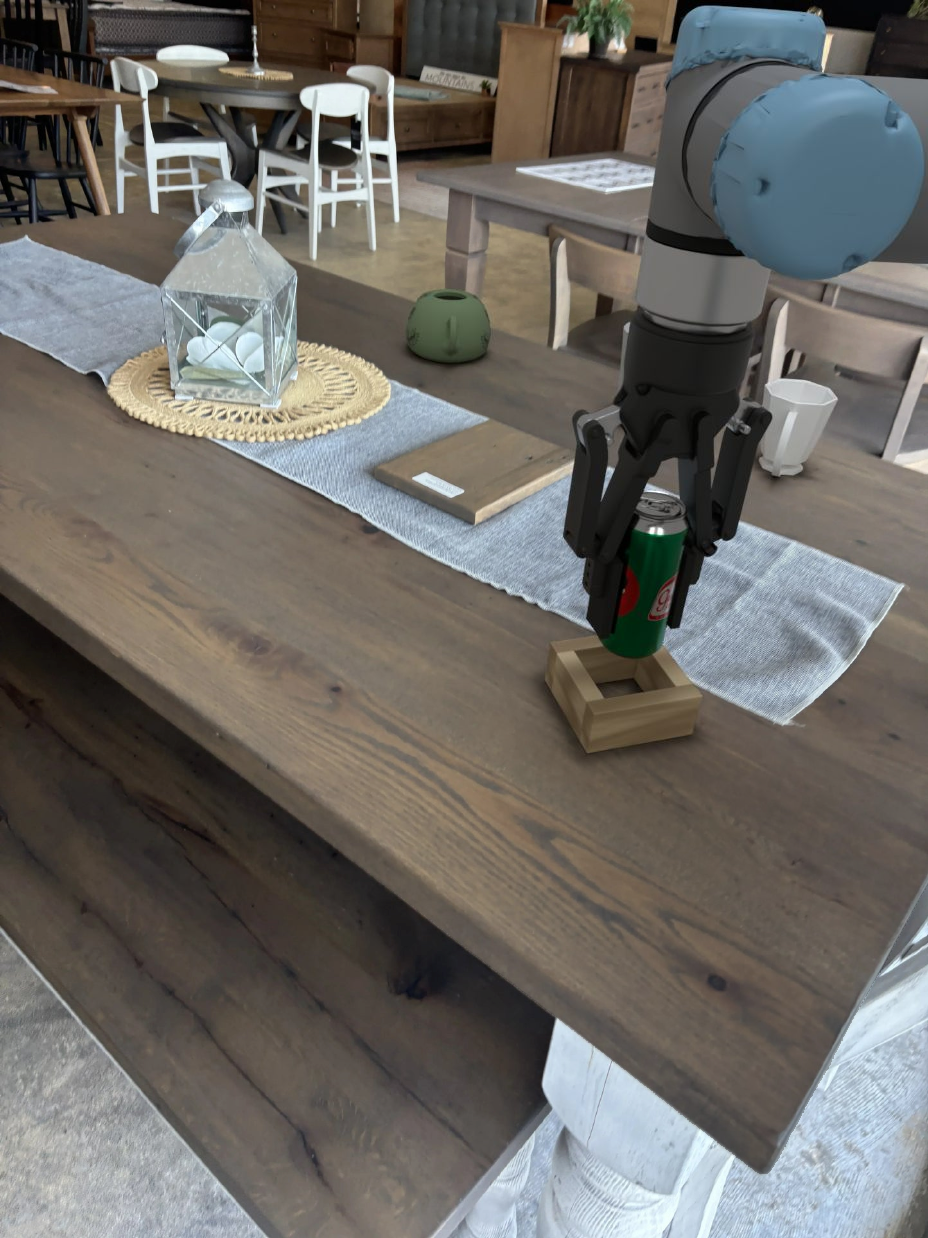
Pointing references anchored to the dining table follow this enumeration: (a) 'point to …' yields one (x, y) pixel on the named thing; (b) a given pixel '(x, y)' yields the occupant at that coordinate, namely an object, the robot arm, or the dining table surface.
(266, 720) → the dining table surface
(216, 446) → the dining table surface
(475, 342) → the mug
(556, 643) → the holder
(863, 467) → the dining table surface
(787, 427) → the cup
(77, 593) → the dining table surface
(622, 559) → the soda can
